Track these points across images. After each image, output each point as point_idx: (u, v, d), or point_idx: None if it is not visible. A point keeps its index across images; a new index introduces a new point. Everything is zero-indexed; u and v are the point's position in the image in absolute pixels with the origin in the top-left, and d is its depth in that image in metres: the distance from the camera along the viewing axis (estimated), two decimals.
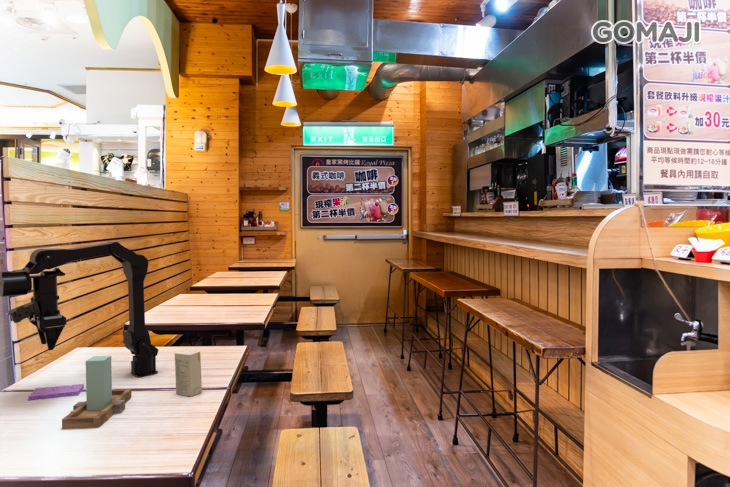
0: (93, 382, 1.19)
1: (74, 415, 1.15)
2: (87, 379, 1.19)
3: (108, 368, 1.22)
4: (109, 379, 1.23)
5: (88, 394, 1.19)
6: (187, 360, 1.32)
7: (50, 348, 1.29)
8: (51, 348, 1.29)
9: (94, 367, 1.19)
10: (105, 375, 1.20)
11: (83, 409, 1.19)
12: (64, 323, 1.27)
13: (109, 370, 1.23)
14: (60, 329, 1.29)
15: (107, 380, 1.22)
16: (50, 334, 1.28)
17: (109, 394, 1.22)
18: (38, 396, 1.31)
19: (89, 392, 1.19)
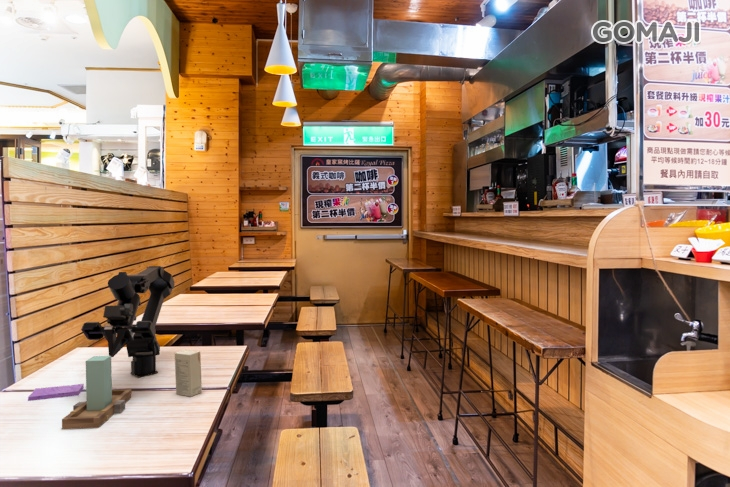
0: (93, 382, 1.19)
1: (74, 415, 1.15)
2: (87, 379, 1.19)
3: (108, 368, 1.22)
4: (109, 379, 1.23)
5: (88, 394, 1.19)
6: (187, 360, 1.32)
7: (113, 354, 1.29)
8: (112, 355, 1.29)
9: (94, 367, 1.19)
10: (105, 375, 1.20)
11: (83, 409, 1.19)
12: (154, 336, 1.37)
13: (109, 370, 1.23)
14: (126, 342, 1.34)
15: (107, 380, 1.22)
16: (120, 341, 1.32)
17: (109, 394, 1.22)
18: (38, 396, 1.31)
19: (89, 392, 1.19)
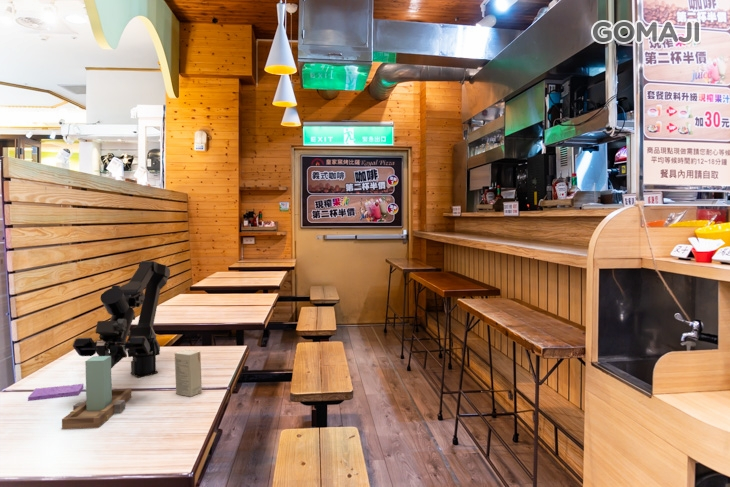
0: (93, 382, 1.19)
1: (74, 415, 1.15)
2: (87, 379, 1.19)
3: (108, 368, 1.22)
4: (109, 379, 1.23)
5: (88, 394, 1.19)
6: (188, 360, 1.33)
7: None
8: None
9: (94, 367, 1.19)
10: (105, 375, 1.20)
11: (83, 409, 1.19)
12: (148, 352, 1.32)
13: (109, 370, 1.23)
14: (120, 358, 1.30)
15: (107, 380, 1.21)
16: (113, 357, 1.27)
17: (108, 394, 1.22)
18: (38, 397, 1.31)
19: (89, 392, 1.19)
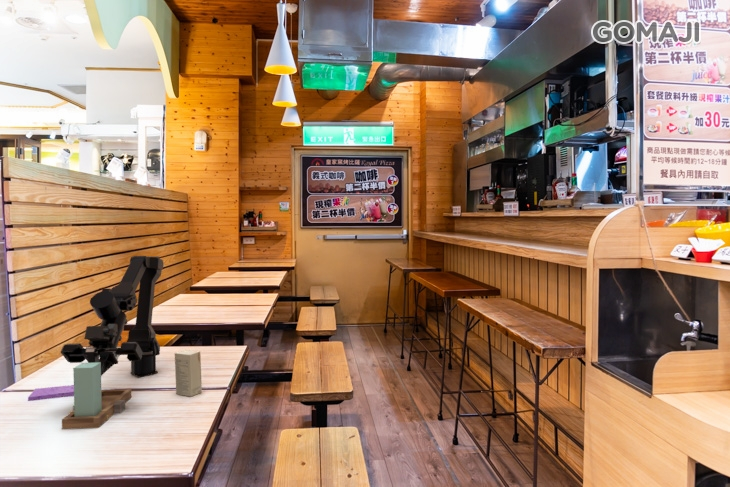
0: (82, 390, 1.13)
1: None
2: (75, 387, 1.13)
3: (98, 375, 1.16)
4: (99, 387, 1.17)
5: (76, 403, 1.13)
6: (188, 360, 1.33)
7: None
8: None
9: (82, 374, 1.13)
10: (94, 383, 1.14)
11: None
12: (140, 358, 1.26)
13: (98, 377, 1.17)
14: (110, 365, 1.24)
15: (96, 388, 1.16)
16: (103, 364, 1.21)
17: (98, 402, 1.16)
18: (38, 397, 1.31)
19: (77, 401, 1.13)
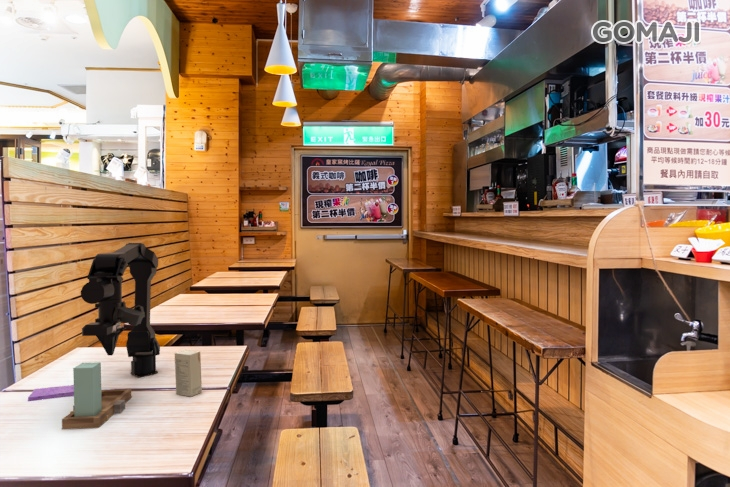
0: (82, 390, 1.13)
1: None
2: (75, 387, 1.13)
3: (98, 375, 1.16)
4: (99, 387, 1.17)
5: (76, 403, 1.13)
6: (188, 360, 1.33)
7: None
8: None
9: (82, 374, 1.13)
10: (94, 383, 1.14)
11: None
12: None
13: (98, 377, 1.17)
14: None
15: (96, 388, 1.15)
16: None
17: (98, 402, 1.16)
18: (38, 397, 1.30)
19: (77, 401, 1.13)
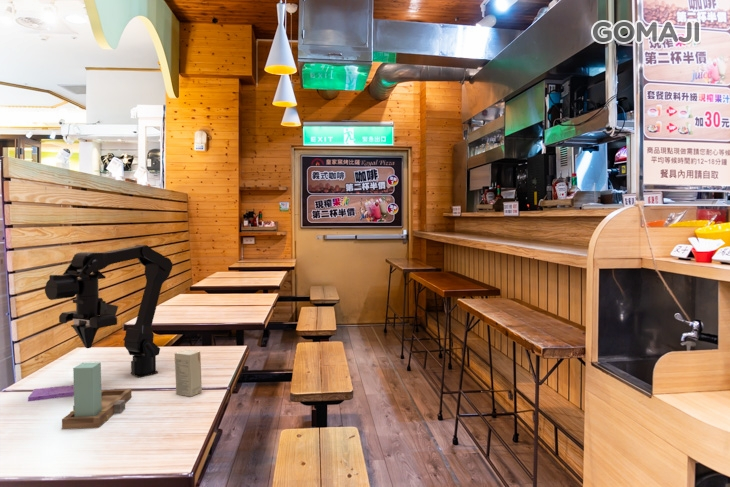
0: (82, 390, 1.13)
1: None
2: (75, 387, 1.13)
3: (98, 375, 1.16)
4: (99, 387, 1.17)
5: (76, 403, 1.13)
6: (188, 360, 1.33)
7: None
8: None
9: (82, 374, 1.13)
10: (94, 383, 1.14)
11: None
12: None
13: (98, 377, 1.17)
14: None
15: (96, 388, 1.15)
16: None
17: (98, 402, 1.16)
18: (38, 397, 1.30)
19: (77, 401, 1.13)
